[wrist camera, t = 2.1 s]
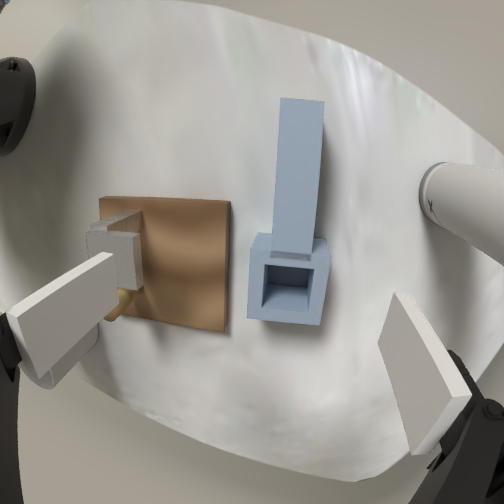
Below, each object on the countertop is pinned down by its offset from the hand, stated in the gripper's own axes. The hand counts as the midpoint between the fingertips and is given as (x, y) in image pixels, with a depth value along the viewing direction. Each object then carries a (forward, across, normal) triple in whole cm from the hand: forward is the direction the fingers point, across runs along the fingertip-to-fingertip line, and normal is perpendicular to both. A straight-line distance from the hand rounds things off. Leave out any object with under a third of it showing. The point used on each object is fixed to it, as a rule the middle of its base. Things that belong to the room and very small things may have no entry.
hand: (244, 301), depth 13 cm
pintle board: (+16, -11, -5) cm, 20 cm away
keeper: (+14, -12, -2) cm, 19 cm away
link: (+16, +2, +2) cm, 16 cm away
